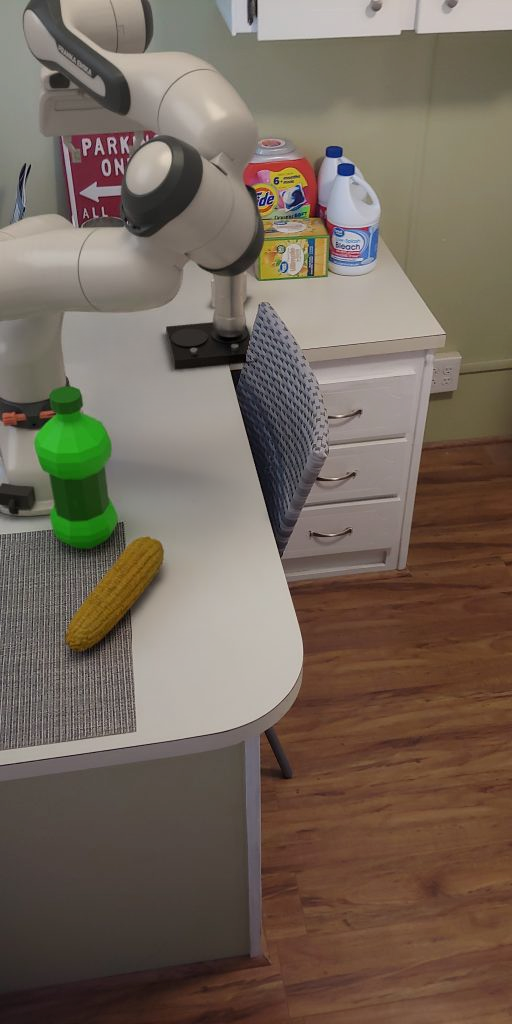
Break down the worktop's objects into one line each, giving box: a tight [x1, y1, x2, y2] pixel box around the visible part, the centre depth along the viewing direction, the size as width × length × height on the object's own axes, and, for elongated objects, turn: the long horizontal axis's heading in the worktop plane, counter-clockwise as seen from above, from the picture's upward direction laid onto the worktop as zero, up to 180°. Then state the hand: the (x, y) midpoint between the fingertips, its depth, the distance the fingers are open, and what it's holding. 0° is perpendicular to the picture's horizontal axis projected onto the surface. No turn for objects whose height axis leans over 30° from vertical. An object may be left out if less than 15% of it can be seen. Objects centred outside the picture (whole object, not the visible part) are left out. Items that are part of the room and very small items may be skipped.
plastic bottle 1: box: [34, 386, 119, 550], centre depth 131 cm, size 10×10×25 cm
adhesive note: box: [210, 271, 248, 308], centre depth 198 cm, size 6×6×6 cm
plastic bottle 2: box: [212, 271, 247, 337], centre depth 178 cm, size 6×7×20 cm
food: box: [64, 535, 165, 653], centre depth 125 cm, size 21×6×6 cm, turn 157°
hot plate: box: [165, 321, 252, 370], centre depth 183 cm, size 14×16×3 cm
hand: (105, 159), depth 154 cm, fingers open, 8 cm apart
